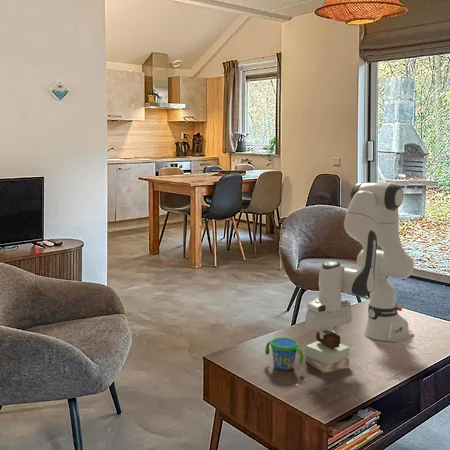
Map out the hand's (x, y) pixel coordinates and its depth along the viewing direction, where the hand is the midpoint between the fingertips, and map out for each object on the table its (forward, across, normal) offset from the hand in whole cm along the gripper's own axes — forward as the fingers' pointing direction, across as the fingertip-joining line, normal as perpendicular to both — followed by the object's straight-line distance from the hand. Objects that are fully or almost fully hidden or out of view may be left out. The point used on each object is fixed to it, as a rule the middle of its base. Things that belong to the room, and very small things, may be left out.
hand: (328, 337), depth 216 cm
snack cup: (+11, +17, -5) cm, 21 cm away
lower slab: (+12, 0, 0) cm, 12 cm away
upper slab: (+8, 0, 0) cm, 8 cm away
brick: (+3, 0, 0) cm, 3 cm away
